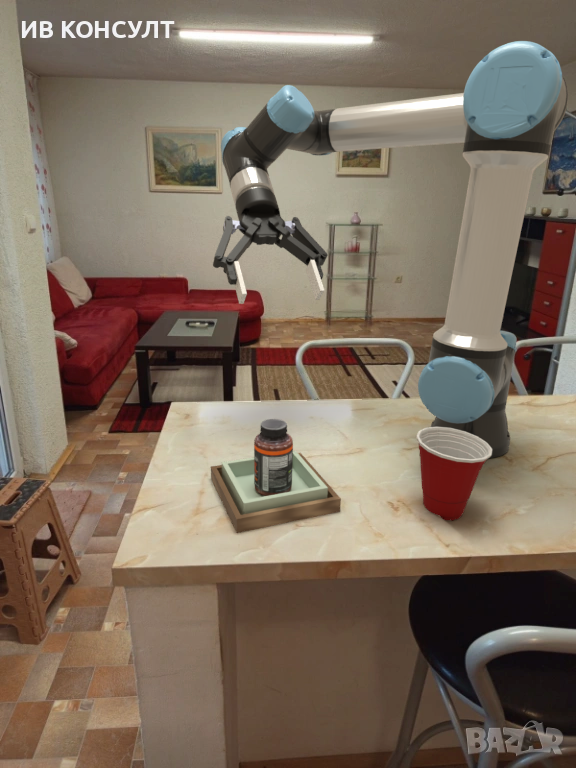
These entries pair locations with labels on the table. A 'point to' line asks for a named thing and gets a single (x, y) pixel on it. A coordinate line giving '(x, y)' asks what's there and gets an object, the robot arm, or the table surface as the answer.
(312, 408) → the table surface
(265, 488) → the supplement bottle
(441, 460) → the plastic cup
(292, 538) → the table surface
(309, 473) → the grey-green crate
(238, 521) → the walnut crate
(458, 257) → the robot arm
